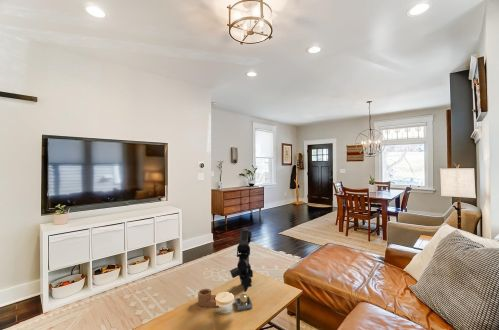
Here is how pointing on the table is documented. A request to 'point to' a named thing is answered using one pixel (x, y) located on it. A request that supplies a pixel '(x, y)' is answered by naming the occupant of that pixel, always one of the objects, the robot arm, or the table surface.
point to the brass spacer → (243, 299)
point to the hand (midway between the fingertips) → (243, 288)
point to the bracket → (206, 298)
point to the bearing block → (243, 307)
